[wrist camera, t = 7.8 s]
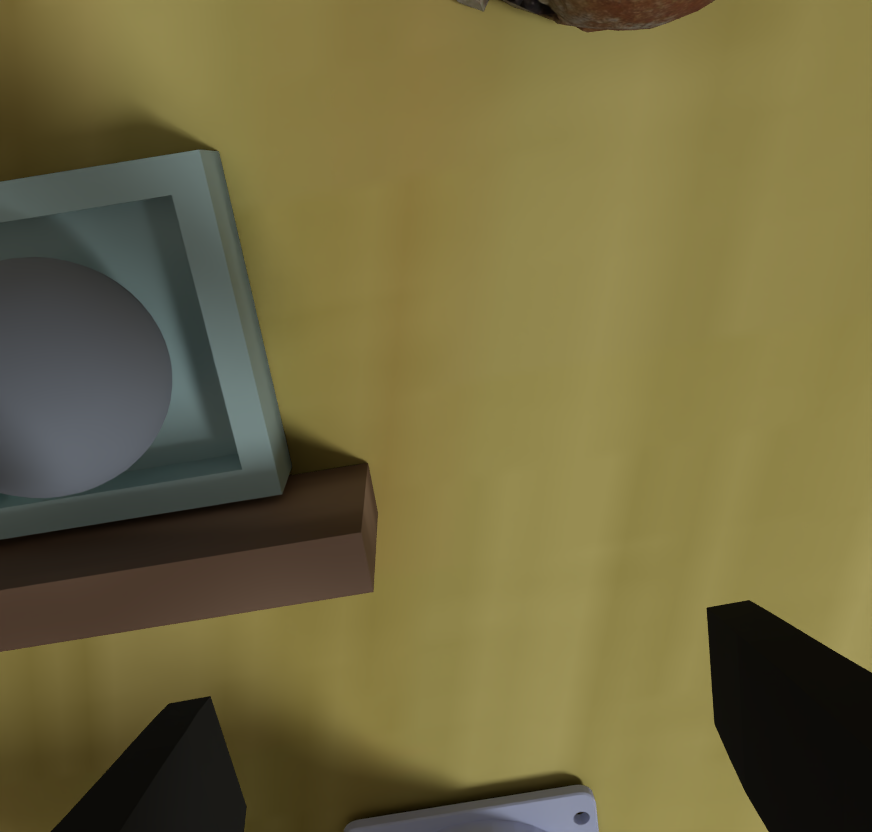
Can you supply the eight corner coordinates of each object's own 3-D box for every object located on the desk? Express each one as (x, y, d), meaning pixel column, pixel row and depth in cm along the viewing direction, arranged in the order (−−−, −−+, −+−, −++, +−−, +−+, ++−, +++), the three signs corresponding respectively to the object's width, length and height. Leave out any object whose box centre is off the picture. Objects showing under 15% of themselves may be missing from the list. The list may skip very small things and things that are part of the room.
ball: (212, 433, 19) (167, 517, 14) (9, 464, 19) (-105, 560, 14) (165, 233, 17) (99, 252, 13) (-56, 263, 17) (-209, 293, 12)
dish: (292, 466, 20) (282, 493, 18) (-4, 513, 20) (-42, 546, 18) (218, 151, 17) (199, 149, 16) (-122, 206, 17) (-178, 210, 16)
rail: (377, 513, 20) (373, 592, 17) (-127, 593, 20) (-246, 691, 17) (367, 462, 20) (361, 532, 16) (-149, 545, 20) (-276, 634, 16)
